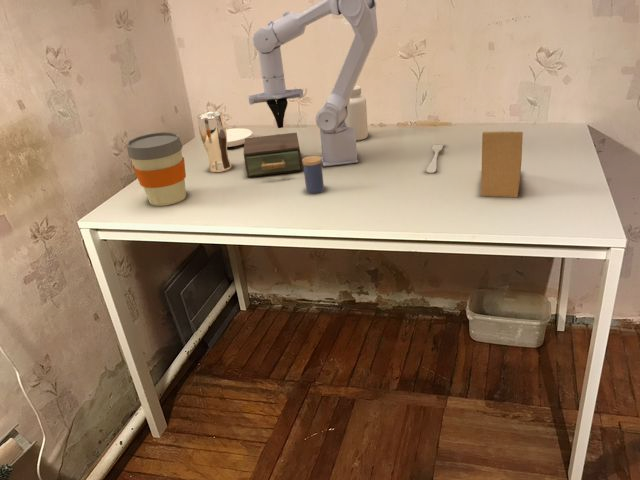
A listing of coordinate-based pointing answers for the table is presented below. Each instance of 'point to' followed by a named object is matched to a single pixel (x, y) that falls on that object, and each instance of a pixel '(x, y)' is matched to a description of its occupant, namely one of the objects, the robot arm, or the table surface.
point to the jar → (313, 174)
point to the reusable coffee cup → (159, 166)
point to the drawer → (273, 162)
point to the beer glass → (214, 140)
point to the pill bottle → (357, 114)
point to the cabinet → (271, 148)
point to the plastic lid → (237, 136)
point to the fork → (434, 159)
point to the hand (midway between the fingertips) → (280, 126)
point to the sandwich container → (501, 163)
